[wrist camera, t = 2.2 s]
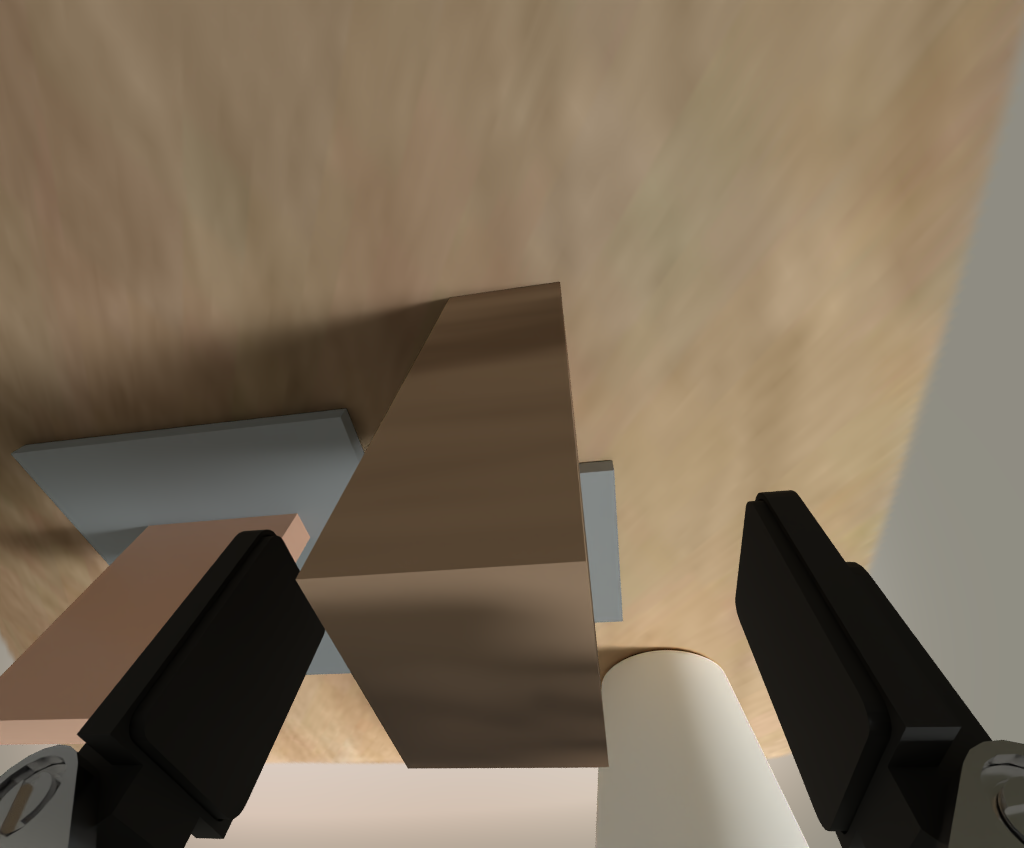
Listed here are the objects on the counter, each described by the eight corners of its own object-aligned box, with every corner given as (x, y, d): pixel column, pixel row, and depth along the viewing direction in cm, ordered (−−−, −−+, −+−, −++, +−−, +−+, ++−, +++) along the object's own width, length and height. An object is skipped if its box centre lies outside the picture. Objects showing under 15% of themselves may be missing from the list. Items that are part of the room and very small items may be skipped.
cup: (640, 611, 23) (717, 1003, 13) (788, 668, 24) (959, 1052, 14) (550, 696, 27) (553, 1034, 17) (679, 739, 29) (751, 1069, 19)
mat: (24, 445, 19) (10, 453, 19) (346, 408, 17) (340, 417, 17) (214, 667, 28) (208, 678, 27) (446, 659, 26) (444, 670, 25)
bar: (449, 297, 15) (295, 579, 6) (559, 281, 15) (585, 561, 5) (480, 428, 18) (408, 768, 8) (574, 419, 17) (608, 767, 8)
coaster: (387, 480, 19) (383, 490, 19) (612, 460, 18) (613, 470, 17) (439, 619, 24) (437, 629, 23) (620, 610, 23) (622, 621, 22)
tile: (148, 525, 21) (-45, 721, 14) (297, 513, 20) (168, 716, 13) (168, 551, 21) (-4, 748, 15) (312, 540, 20) (198, 745, 14)
